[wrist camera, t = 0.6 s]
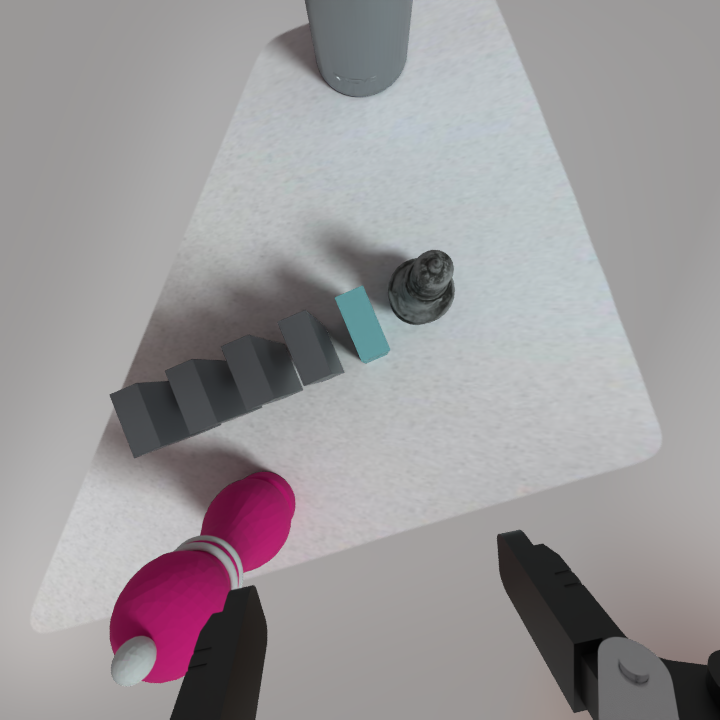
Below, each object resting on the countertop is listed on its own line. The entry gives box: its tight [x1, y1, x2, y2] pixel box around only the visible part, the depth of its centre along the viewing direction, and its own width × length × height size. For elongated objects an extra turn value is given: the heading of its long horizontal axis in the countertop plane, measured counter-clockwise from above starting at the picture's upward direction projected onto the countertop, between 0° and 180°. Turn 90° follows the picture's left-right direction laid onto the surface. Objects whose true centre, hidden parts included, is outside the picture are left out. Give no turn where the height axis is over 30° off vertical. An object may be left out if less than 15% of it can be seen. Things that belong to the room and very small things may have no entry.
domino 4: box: [278, 310, 345, 386], centre depth 31 cm, size 2×5×10 cm, turn 23°
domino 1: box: [110, 381, 221, 458], centre depth 31 cm, size 2×5×10 cm, turn 23°
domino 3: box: [221, 335, 303, 410], centre depth 31 cm, size 2×5×10 cm, turn 23°
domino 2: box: [165, 359, 262, 435], centre depth 31 cm, size 2×5×10 cm, turn 23°
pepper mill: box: [110, 472, 295, 686], centre depth 25 cm, size 7×7×20 cm
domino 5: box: [335, 285, 390, 363], centre depth 30 cm, size 2×5×10 cm, turn 23°
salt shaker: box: [388, 250, 455, 325], centre depth 29 cm, size 6×6×12 cm
